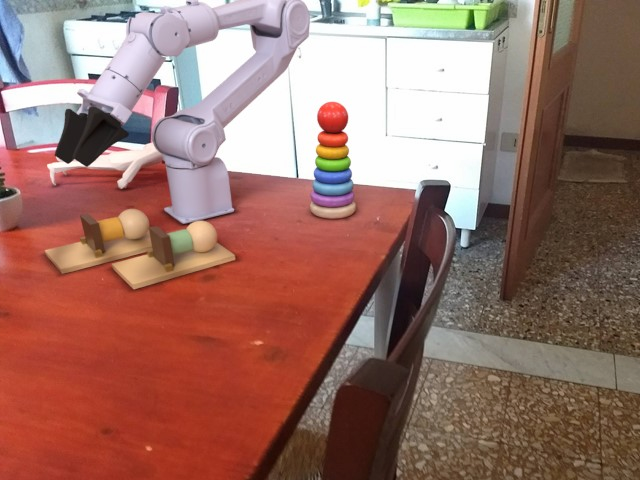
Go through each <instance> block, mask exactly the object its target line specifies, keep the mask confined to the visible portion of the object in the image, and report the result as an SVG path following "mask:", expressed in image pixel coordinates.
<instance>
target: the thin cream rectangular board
mask: <svg viewBox="0 0 640 480" xmlns="http://www.w3.org/2000/svg"><path fill="white" fill-rule="evenodd" d="M173 258H174V264H175V266H172V264H171V263H169V264H165V265H163V264H162V263H160V262H159V261H158V260H157V259H156V258H155V257H154V255H153V249H151V250H147V252H146V254H143V255H140V256H136V257H131V258H128V259H125V260H121V261H117V262H112V263H111V267H112V268H111V269H112V270H113V272H114V271H115V273H116V274H117V275H118V276H119V277H120V278H121V279H122V280H123V281H124V282H126V284H127V285H128V286H129V287H131V289H133V290H137V289H140V288H144V287H147V286H152V285H154V284H158V283H161V282H164V281H168V280H171V279H175V278H178V277H181V276H185V275H189V274H192V273H196V272H199V271H202V270H206V269H209V268H213V267H216V266H219V265H223V264H226V263H229V262H233V261H236V254H235V253H233V252H231V250H229V249H227V248H226V247H224V246H223V245H221V244H220V243H218V241H217V242H216V244H215V246H214V247H213V248H212V249H211V250H209V251H206V252H196V251H194V250H191V251H188V252H184V253H181V254H177V255H173Z"/></svg>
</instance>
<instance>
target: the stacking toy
mask: <svg viewBox="0 0 640 480" xmlns="http://www.w3.org/2000/svg"><path fill="white" fill-rule="evenodd" d="M316 120H317V124H318V126H319V128H320V129H321V130H322V131H320V132H319V133H318V134H317V142H318V143H319V144H318V145H317V146H316V147H315V153H316V155H317V156H316V157H315V160H314V163H315V166H316V167H315V168H314V169H313V177H314V179H313V181H312V191H311V192H310V200H311V202H310V204H309V210H310V212H311V213H312V214H313V215H315V216H317V217H319V218H323V219H329V220H331V219H333V220H334V219H335V220H337V219H343V218H347V217H349V216H352V215H353V214H354V213H355V212H356V210H357V204H356V202H355V201H354V199H355V192H354V191H353V189H354V186H355V185H354V182H353V179H351V178H352V177H353V172H352V170H351V168H350V167H351V165H352V161H351V158H350V157H349V156H348V155H349V154H350V149H349V147H348V145H346V144H348V141H349V135H348V134H347V132H345V131H344V130H345V129H346V127H347V126H348V123H349V113H348V110H347V109H346V107H345V106H344V105H343V104H341V103H340V102H337V101H327V102H325V103H323V104H322V105H321V106H320V107H319V109H318V111H317V116H316Z"/></svg>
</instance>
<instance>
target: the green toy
mask: <svg viewBox="0 0 640 480" xmlns="http://www.w3.org/2000/svg"><path fill="white" fill-rule="evenodd" d="M149 233H150V238H151V244H152V249H153V255H154V257H155V258H156V259H157V260H158V261H159V262H160V263H162V264H163V265H165V264H169V263H171V264H172V266H175V264H174V258H173V255H177V254H181V253H184V252H188V251H191V250H194V251H196V252H206V251H209V250H211V249H212V248H213V247H214V246H215V244H216V242H217V243H218V232H217V230H216V228H215V226H214V225H213V224H211V223H210V222H208V221H205V220H199V221H194V222H190V223H189V225H188V226H186V229H185V228H183V229H179V230H175V231H172V232H168V233H167V232H166V231H164V230H163V229H162V228H160V227H159V226H158V225H154V226H149Z"/></svg>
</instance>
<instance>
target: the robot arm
mask: <svg viewBox="0 0 640 480" xmlns="http://www.w3.org/2000/svg"><path fill="white" fill-rule="evenodd" d="M159 9H160V11H159V12H158V13H156V12H147V11H142V12H138V13H137V14H135V15H134V17H131V16H129V17H128V20H127V22H126V25H125V26H126V27H125V35H126V36H125V38H124V39H123V42H122V43H121V45H120V46H119V48H118V50H117V51H116V53H115V54H114V55H113V57H112V58H111V60H110V61H109V63H108V64H107V66H106V67H105V69H104V70H103V71H102V73H101V75H100V76H99V77H98V79H97V80H96V81H95V83H94V84H93V86H92V87H91V88H90V90H89V92H88V91H87V90H86V89H84V88H80V89H78V90H77V92H76V94H77V95H78V96H80V98H82V104H81V105H80V107H79V109H77V111H74V110H73V109H72V108H66V109H65V111H64V123H63V128H62V131H61V135H60V138H59V140H58V143H57V145H56V148H55V152H54V157H55V158H56V157H58V158H59V159H61V160H62V161H64V162H65V163H67V164H69V163H71V162H72V161H73V160H74V159H75V160H77V161H78V162H80V163H81V164H83V165H84V166H86V167H88V166H89V165H90V164H92V163H93V162H94V161H95V160H96V159H97V158H98V157H99V156H100V155H103V154H104V153H105V152H106V151H107V150H108V149H110V148H111V147H112V146H113V145H115V144H117V143H118V142H120V141H122V140H123V139H126V138H128V137H129V136H130V133H129V132H128V131H127V130H126V129H125V128H123V127H124V125H125V124H126V123H127V122H128V121H129V119H130V118H131V116H132V114H133V109H134V108H135V106H136V105H137V104H138V102H139V101H140V99H141V98H142V96H143V94H144V93H145V91H146V90H147V88H148V87H149V86H150V84H151V82H152V81H153V79H154V78H155V76H156V75H157V73H158V72H159V70H160V69H161V67H162V66H163V65H164V63H165V61H166V60H167V58H168V57H175V58H176V57H177V58H178V57H179V56H180V55H181V54H182V53H183V51H184V50H185V49H189V48H191V47H196V46H199V45H202V44H206V43H209V42H213V41H215V40H216V39H217V37H218V36H219V31H222V30H227V29H230V28H236V27H240V26H246V25H247V26H249V29H250V35H251V43H252V48H253V50H254V51H255V53H254V54H253V55H251V57H249V58H248V59H247V60H246V61H245V62H243V64H241V65H240V66H239V67H238V68H237V69H236V70H235V71H234V72H232V73H231V74H230V75H229V76H228V77H226V78H225V80H223V82H221V83H220V84H219V85H218V86H216V87H215V88H214V89H213V90H212V91H211V92H210V93H209V94H207V95H206V96H205V97H204V98H203V99H202V100H201V101H200V102H198V103H197V104H195V105H193V106H189V107H185V108H181V109H179V110H177V111H176V112H175V113H174V114H172V115H169V116H164V117H162V118H160V119H158V120H157V121H156V123H155V124H154V126H153V128H152V132H151V140H152V142H153V144H154V146H155V148H156V149H157V151H159V152H160V153H161V154H162V156H163V160H162V161H163V162H164V164H165V169H166V170H165V171H166V176H167V177H166V178H167V182H168V187H169V195H170V203H171V206H167V207H164V208H163V211H164V212H165V213H167V214H168V215H169V216H171V217H172V218H174V219H175V220H176V221H178V222H179V223H181V225H182V224H183V225H185V224H186V225H187V224H191V223H193V222H195V221H204V220H207V219H210V218H211V219H212V218H215V217H218V216H219V217H220V216H224V215H226V214H231V213H235V208H234V207H233V201H232V193H231V186H230V176H229V171H228V168H227V166H226V164H225V162H224V161H223V160H222V159H221V158H220V157H217V156H216V155H217V154H218V150H219V149H220V147H221V146H222V145H223V144H224V143H225V142H226V138H227V137H226V133H225V129H224V128H225V127H227V126H228V125H229V124H231V122H232V121H233V120H234V119H235V118H236V117H238V116H239V115H240V114H241V113H242V112H243V111H244V110H245V109H246V108H247V107H249V105H250V104H251V103H253V101H255V100H256V99H257V98H258V97H259V96H260V95H261V94H262V93H263V92H264V91H266V90H267V89H268V88H269V87H270V86H271V85H272V84H273V83H274V82H275V81H276V80H277V79H278V78H280V77H281V75H283V74H284V73H285V72H286V70H288V68H289V66H290V63H291V61H292V60H293V57H294V55H295V53H296V52H297V49H298V48H299V46H300V45H302V44H303V43H304V42H305V41H306V40H307V39H308V38H309V36H310V27H311V26H310V24H311V14H310V10H309V8H308V6H307V4H306V2H305V1H304V0H234V1H231V2H227V3H225V4H221V5H218V6H214V7H211V6H210V5H209V4H207V3H205V2H203V1H199V0H185V5H180V6H176V7H172V8H171V6H169V5H168V6H167V5H166V6H164V5H163V6H161V7H160V8H159Z"/></svg>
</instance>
